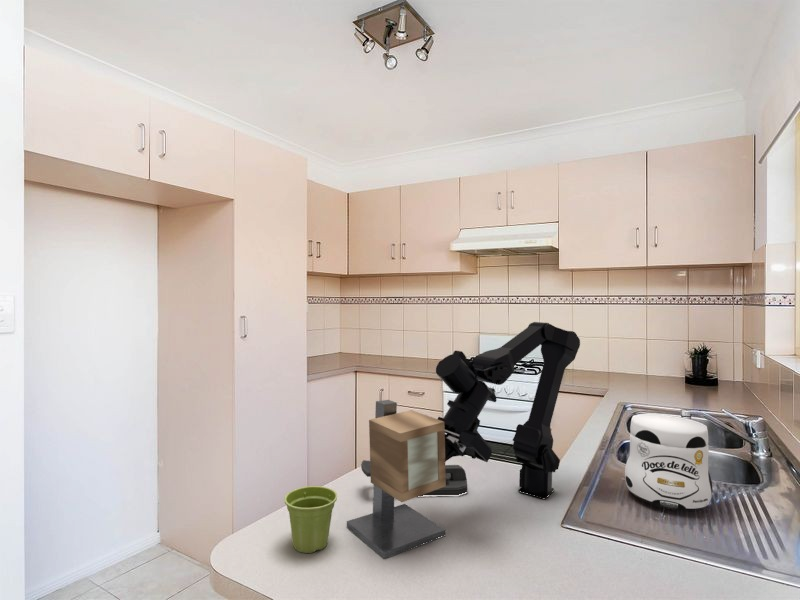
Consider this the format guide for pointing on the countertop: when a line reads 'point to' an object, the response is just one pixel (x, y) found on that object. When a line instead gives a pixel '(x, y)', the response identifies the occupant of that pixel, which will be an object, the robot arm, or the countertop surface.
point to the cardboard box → (407, 454)
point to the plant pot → (310, 516)
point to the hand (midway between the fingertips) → (426, 473)
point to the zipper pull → (454, 479)
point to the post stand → (392, 517)
